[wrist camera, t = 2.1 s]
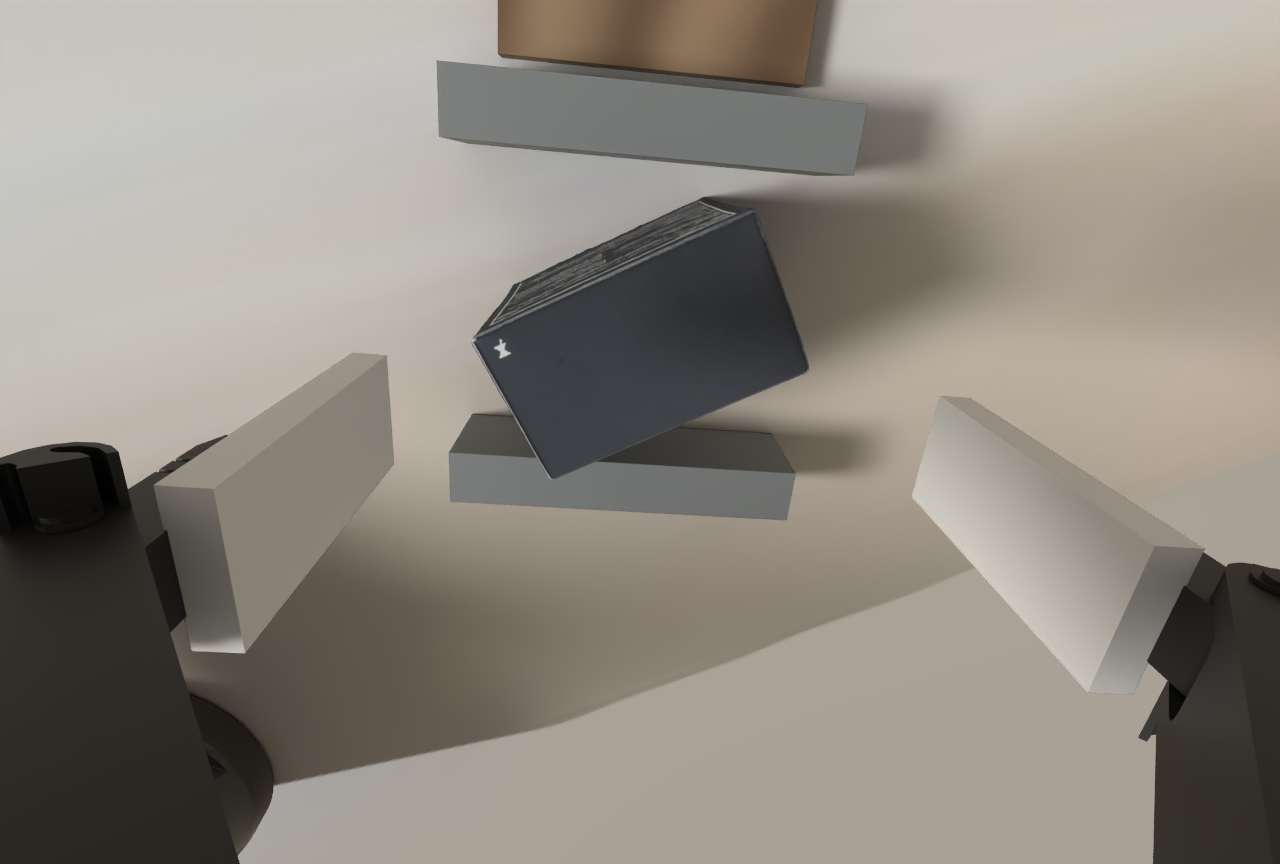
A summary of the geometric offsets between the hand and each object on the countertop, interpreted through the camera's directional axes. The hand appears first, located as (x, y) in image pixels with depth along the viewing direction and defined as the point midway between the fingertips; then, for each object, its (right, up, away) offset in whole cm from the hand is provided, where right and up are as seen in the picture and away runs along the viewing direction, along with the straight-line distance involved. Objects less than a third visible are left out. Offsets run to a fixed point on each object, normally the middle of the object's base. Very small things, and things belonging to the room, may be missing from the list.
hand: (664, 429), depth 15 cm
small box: (-1, +6, +16) cm, 18 cm away
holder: (-1, +6, +16) cm, 17 cm away
